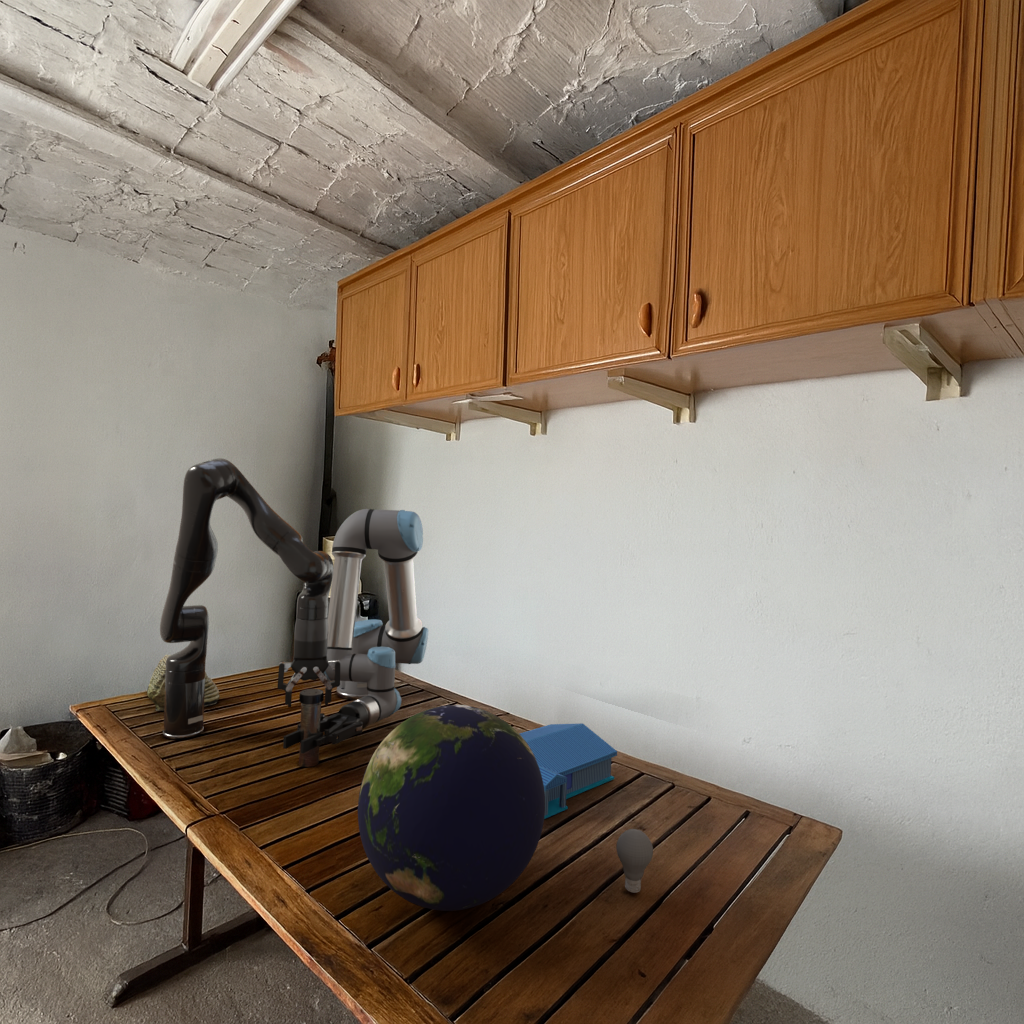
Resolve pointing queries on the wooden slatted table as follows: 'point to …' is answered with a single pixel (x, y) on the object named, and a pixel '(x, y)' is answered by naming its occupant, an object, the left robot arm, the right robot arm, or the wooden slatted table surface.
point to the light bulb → (634, 857)
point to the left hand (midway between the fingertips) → (308, 705)
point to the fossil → (158, 687)
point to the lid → (311, 696)
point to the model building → (569, 761)
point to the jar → (309, 732)
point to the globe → (451, 807)
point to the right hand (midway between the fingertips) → (293, 744)
